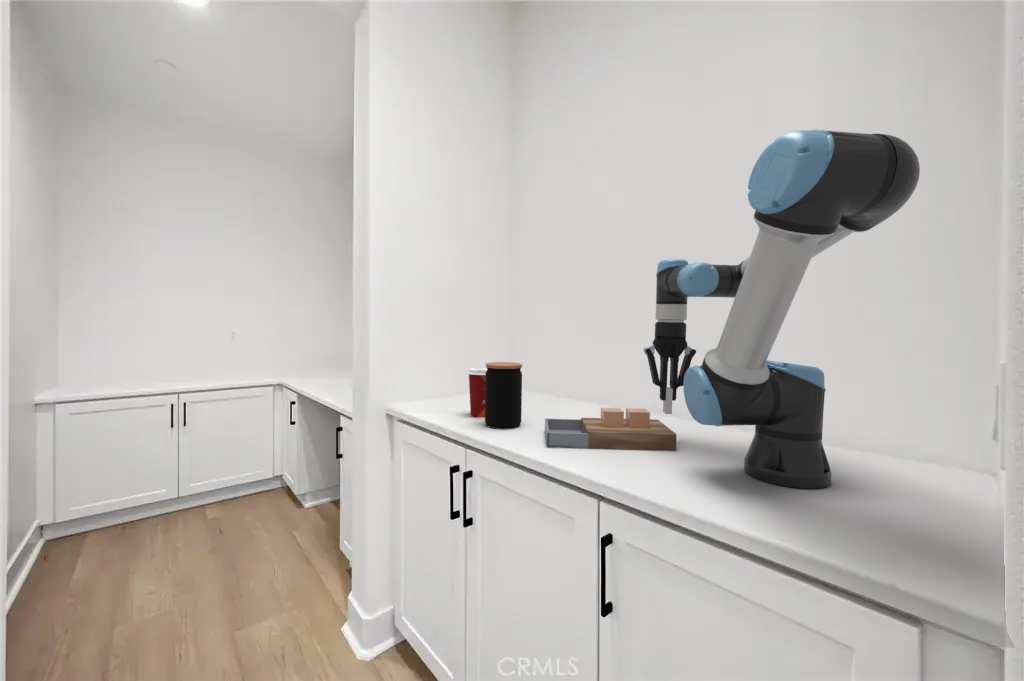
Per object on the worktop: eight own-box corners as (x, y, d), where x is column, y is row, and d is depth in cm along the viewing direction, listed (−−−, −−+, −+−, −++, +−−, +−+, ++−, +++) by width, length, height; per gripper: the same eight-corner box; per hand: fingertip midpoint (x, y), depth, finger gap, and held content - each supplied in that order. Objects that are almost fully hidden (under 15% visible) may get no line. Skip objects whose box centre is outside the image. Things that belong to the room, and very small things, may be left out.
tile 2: (649, 428, 115) (649, 412, 115) (629, 427, 115) (629, 412, 115) (644, 423, 120) (645, 408, 120) (625, 423, 120) (625, 408, 120)
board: (676, 450, 109) (676, 434, 109) (588, 448, 110) (588, 432, 110) (657, 433, 125) (657, 419, 125) (580, 432, 126) (581, 417, 126)
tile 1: (623, 427, 115) (623, 411, 115) (603, 427, 115) (604, 411, 115) (619, 423, 120) (620, 408, 120) (600, 422, 120) (600, 407, 120)
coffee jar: (522, 421, 138) (523, 362, 137) (519, 430, 127) (520, 366, 126) (487, 420, 139) (488, 361, 138) (481, 428, 128) (482, 365, 127)
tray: (588, 448, 110) (588, 434, 110) (546, 447, 111) (547, 433, 110) (580, 432, 126) (581, 419, 126) (544, 431, 126) (544, 418, 126)
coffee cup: (492, 418, 141) (493, 370, 140) (465, 418, 141) (466, 370, 140) (493, 413, 149) (494, 367, 149) (468, 412, 150) (469, 367, 149)
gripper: (691, 321, 119) (687, 410, 121) (641, 320, 120) (638, 409, 121) (702, 322, 112) (698, 416, 113) (648, 321, 112) (645, 415, 114)
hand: (667, 412), depth 117 cm, fingers closed
